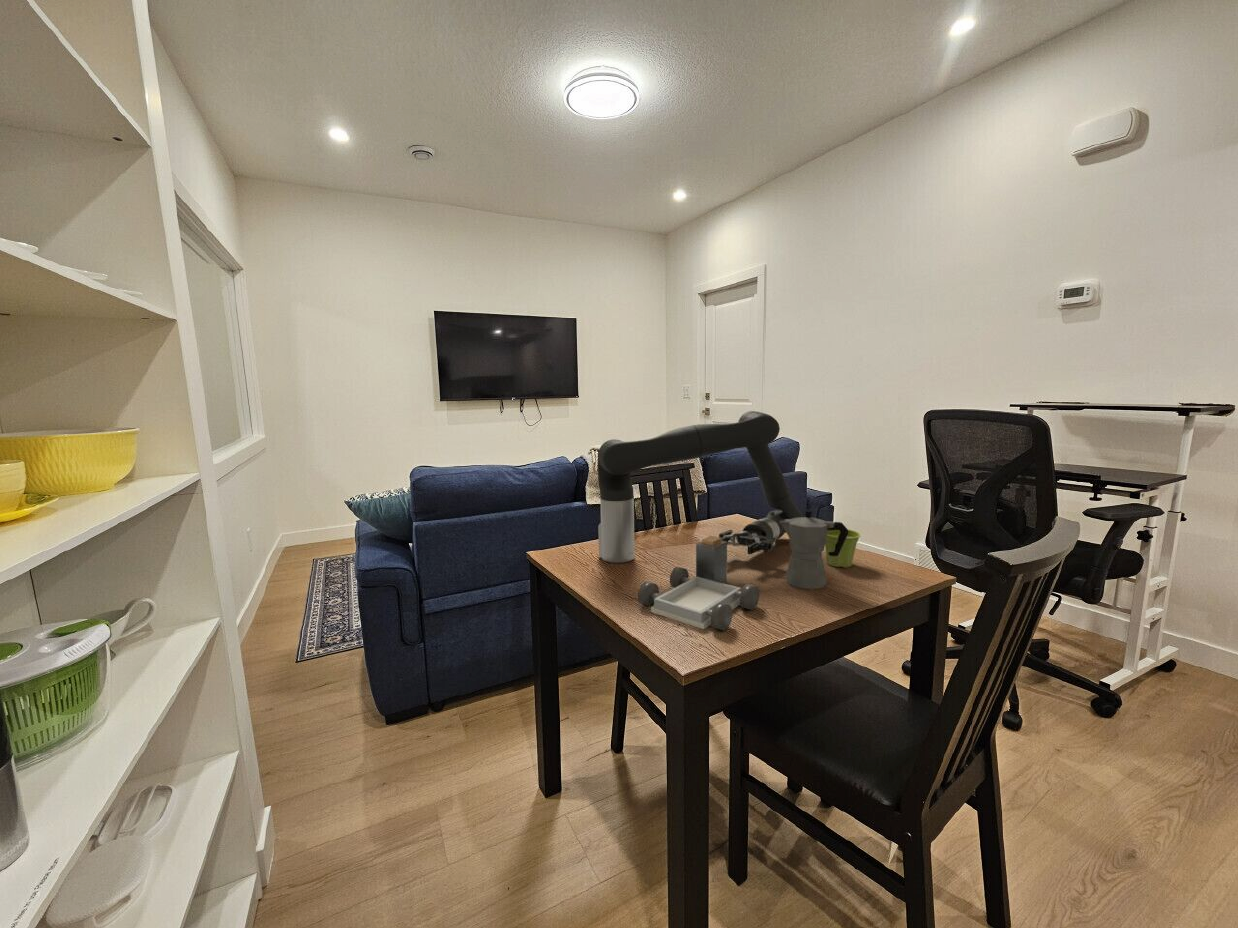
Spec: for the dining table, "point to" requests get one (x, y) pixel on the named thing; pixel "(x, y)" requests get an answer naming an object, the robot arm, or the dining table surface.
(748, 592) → the chassis
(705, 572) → the tall block with cap
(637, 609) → the dining table surface
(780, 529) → the robot arm
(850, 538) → the plant pot
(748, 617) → the dining table surface
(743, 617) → the dining table surface
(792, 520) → the coffeepot
